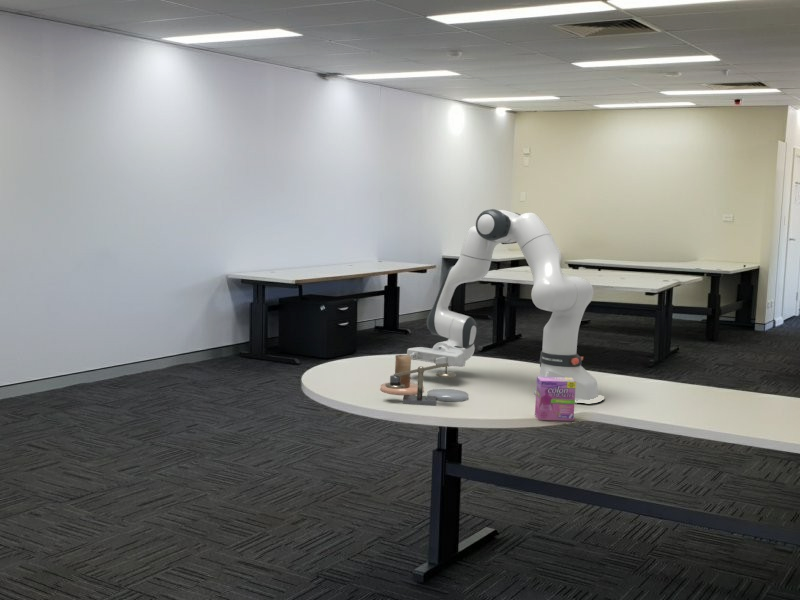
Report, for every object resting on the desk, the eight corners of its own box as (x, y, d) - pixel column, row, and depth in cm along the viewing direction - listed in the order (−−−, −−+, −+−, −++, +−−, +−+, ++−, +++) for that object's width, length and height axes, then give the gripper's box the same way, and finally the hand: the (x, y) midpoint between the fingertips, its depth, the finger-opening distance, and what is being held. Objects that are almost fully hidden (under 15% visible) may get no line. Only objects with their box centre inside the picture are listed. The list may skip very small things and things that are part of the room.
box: (538, 420, 241) (540, 380, 240) (534, 415, 246) (536, 376, 245) (574, 421, 241) (576, 381, 240) (569, 416, 247) (572, 377, 246)
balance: (454, 401, 260) (456, 361, 259) (454, 406, 253) (456, 365, 252) (385, 397, 261) (387, 357, 260) (384, 402, 254) (385, 361, 253)
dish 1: (431, 390, 275) (431, 386, 275) (408, 397, 263) (408, 393, 263) (396, 383, 282) (396, 380, 282) (372, 390, 271) (372, 386, 271)
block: (412, 386, 273) (414, 356, 272) (404, 388, 269) (405, 358, 268) (399, 384, 276) (401, 354, 275) (391, 386, 272) (392, 356, 271)
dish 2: (475, 396, 268) (475, 393, 267) (455, 403, 257) (455, 400, 257) (440, 390, 275) (440, 387, 275) (419, 397, 264) (419, 393, 264)
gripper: (419, 341, 299) (397, 346, 287) (469, 348, 287) (449, 353, 276) (418, 359, 299) (397, 364, 288) (468, 366, 288) (448, 372, 277)
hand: (423, 359), depth 282 cm, fingers open, 8 cm apart
